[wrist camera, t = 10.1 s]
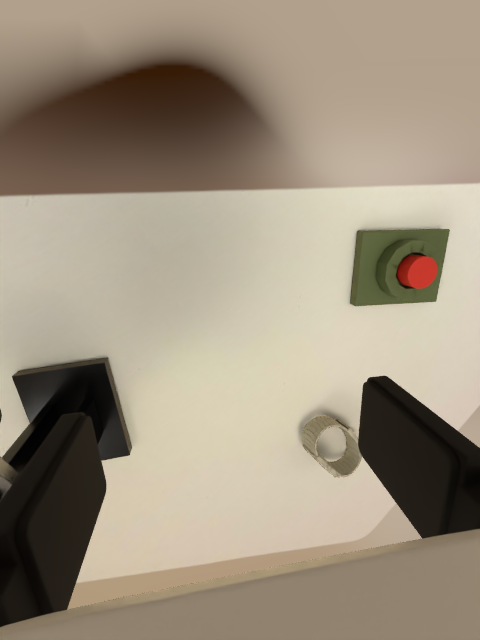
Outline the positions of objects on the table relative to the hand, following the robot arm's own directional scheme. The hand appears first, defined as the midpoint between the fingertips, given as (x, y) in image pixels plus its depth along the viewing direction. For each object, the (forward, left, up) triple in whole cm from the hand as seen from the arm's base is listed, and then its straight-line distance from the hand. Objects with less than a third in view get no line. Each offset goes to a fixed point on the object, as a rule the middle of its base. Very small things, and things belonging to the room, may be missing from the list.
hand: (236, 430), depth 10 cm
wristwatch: (+25, -4, -23) cm, 34 cm away
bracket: (-1, -20, -23) cm, 30 cm away
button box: (+14, +16, -23) cm, 31 cm away
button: (+14, +16, -20) cm, 29 cm away
